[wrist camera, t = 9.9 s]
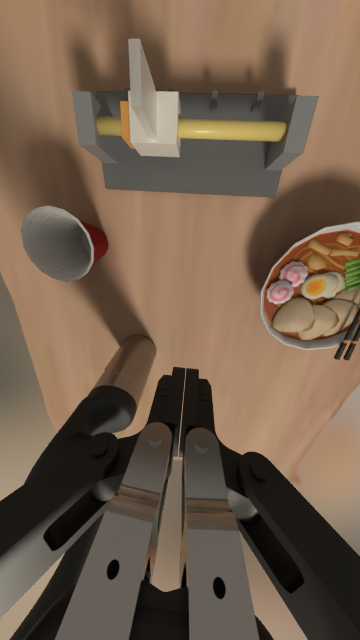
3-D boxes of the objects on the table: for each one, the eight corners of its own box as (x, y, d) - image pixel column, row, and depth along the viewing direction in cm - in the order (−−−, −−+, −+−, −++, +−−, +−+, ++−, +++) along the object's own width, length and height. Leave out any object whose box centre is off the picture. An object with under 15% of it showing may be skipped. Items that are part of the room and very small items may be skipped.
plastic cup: (123, 269, 40) (96, 283, 30) (77, 267, 41) (34, 280, 30) (118, 213, 36) (83, 205, 25) (65, 212, 36) (9, 204, 26)
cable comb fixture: (295, 100, 27) (335, 47, 19) (272, 197, 32) (296, 186, 24) (99, 96, 29) (62, 46, 21) (108, 189, 34) (81, 176, 26)
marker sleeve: (181, 114, 25) (169, 33, 15) (179, 157, 27) (168, 111, 17) (139, 113, 26) (98, 33, 15) (140, 155, 28) (105, 110, 17)
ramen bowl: (264, 214, 33) (282, 209, 26) (398, 218, 32) (457, 214, 25) (239, 332, 44) (247, 352, 37) (338, 339, 43) (367, 361, 36)
